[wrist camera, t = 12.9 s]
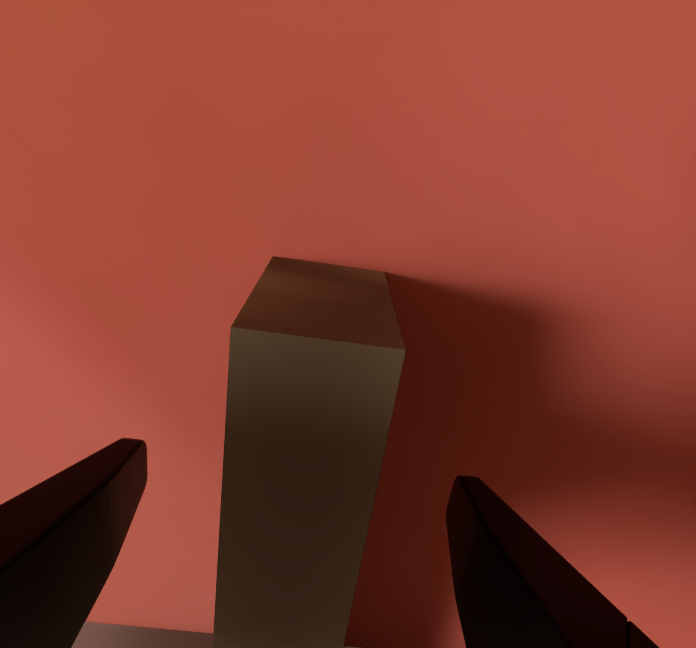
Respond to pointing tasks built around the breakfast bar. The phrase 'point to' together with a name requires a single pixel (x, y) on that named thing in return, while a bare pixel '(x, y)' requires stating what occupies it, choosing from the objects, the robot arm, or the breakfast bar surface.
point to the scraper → (295, 460)
